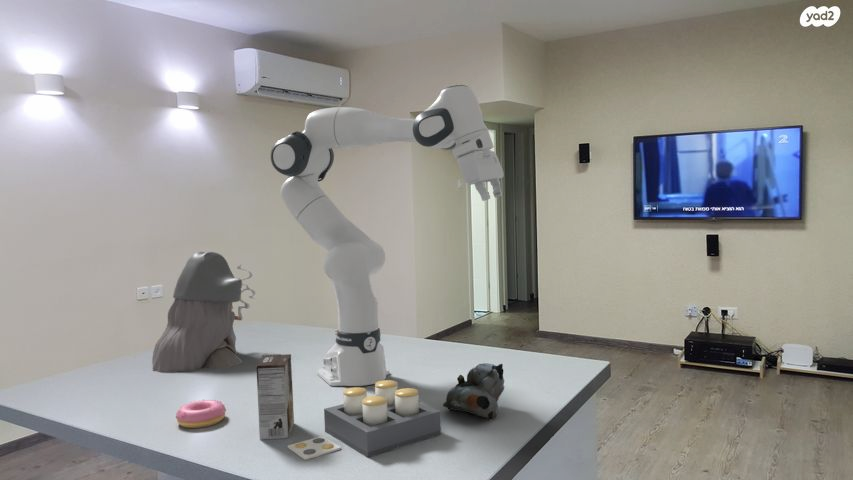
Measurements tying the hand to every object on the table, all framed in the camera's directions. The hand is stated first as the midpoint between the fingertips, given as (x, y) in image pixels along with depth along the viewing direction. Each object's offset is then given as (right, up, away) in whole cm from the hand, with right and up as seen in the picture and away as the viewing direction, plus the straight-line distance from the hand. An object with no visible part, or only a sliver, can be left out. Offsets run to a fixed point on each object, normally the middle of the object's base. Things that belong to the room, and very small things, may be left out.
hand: (492, 198), depth 155 cm
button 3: (-26, -47, -18) cm, 57 cm away
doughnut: (-69, -53, -12) cm, 88 cm away
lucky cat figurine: (-6, -51, -12) cm, 53 cm away
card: (-40, -53, -30) cm, 73 cm away
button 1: (-32, -48, -23) cm, 62 cm away
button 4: (-21, -48, -24) cm, 58 cm away
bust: (-90, -50, +47) cm, 113 cm away
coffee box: (-49, -53, -20) cm, 75 cm away
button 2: (-27, -48, -29) cm, 63 cm away
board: (-26, -52, -23) cm, 63 cm away
